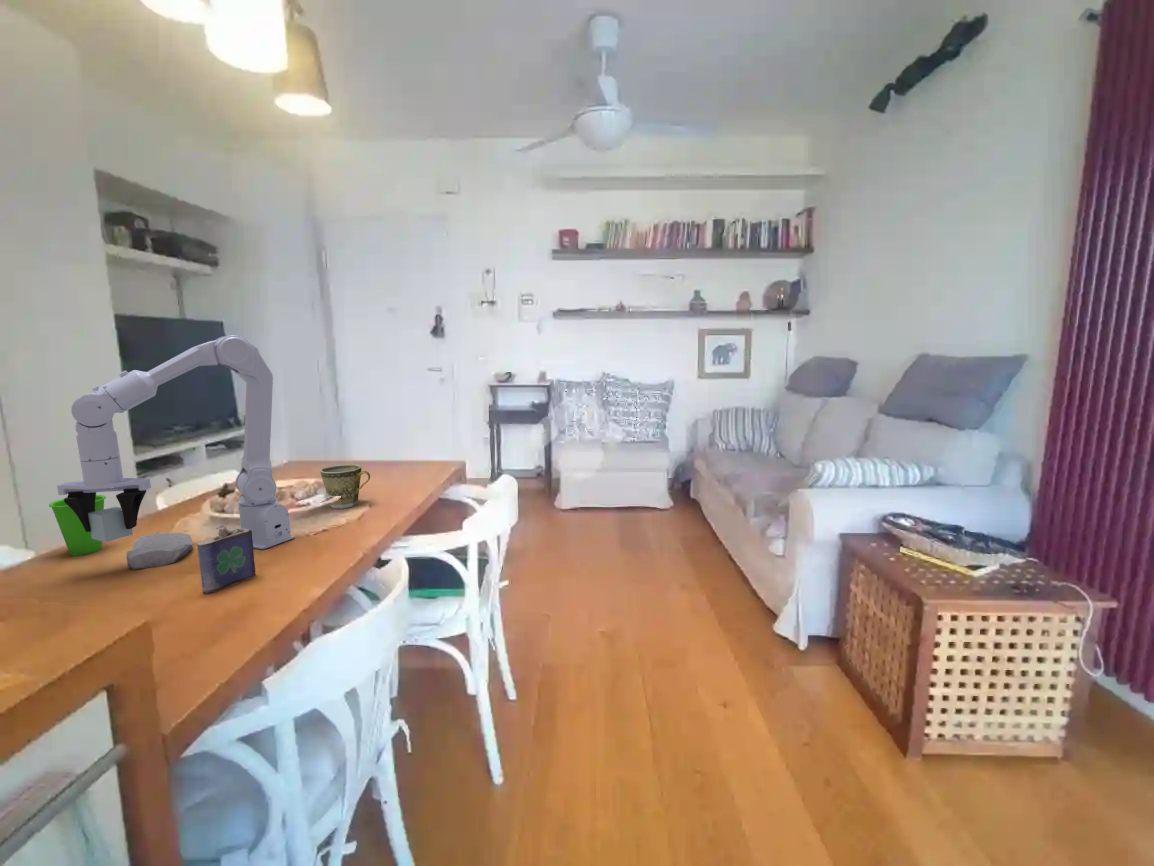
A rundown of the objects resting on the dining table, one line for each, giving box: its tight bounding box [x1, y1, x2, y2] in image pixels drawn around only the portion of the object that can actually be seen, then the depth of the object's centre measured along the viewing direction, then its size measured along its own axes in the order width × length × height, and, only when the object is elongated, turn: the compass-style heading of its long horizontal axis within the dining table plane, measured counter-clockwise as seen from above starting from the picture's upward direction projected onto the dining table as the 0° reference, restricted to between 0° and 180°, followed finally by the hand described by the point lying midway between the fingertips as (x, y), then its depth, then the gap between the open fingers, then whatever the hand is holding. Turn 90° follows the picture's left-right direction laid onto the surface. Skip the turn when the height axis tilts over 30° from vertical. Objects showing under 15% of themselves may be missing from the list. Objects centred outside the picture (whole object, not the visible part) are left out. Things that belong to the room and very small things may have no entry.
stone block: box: [126, 531, 194, 571], centre depth 117 cm, size 12×5×10 cm
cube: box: [88, 506, 134, 543], centre depth 109 cm, size 4×4×5 cm
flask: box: [196, 524, 257, 595], centre depth 102 cm, size 9×3×11 cm, turn 151°
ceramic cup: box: [320, 463, 371, 510], centre depth 152 cm, size 13×10×10 cm
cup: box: [48, 494, 107, 556], centre depth 120 cm, size 9×9×11 cm
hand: (111, 528), depth 109 cm, fingers closed on cube, 6 cm apart
